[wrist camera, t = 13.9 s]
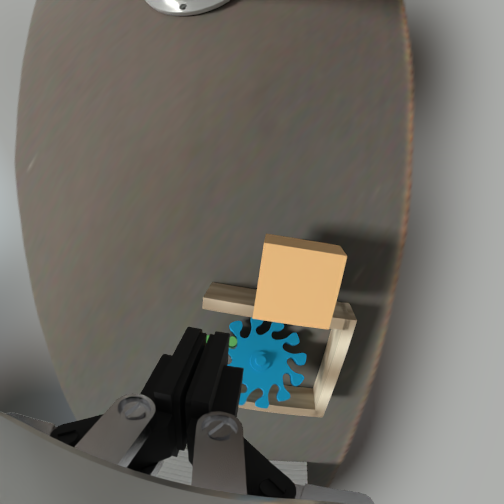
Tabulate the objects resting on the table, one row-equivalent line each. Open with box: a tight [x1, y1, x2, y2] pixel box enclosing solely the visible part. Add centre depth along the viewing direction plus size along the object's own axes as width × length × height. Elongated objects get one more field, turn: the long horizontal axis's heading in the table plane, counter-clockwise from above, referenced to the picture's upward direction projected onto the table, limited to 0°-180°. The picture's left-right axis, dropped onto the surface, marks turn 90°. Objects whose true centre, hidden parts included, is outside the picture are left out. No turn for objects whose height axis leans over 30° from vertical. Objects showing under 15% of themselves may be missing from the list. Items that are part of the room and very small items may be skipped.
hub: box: [252, 234, 347, 329], centre depth 25 cm, size 6×6×3 cm
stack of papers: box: [156, 449, 307, 486], centre depth 37 cm, size 32×11×11 cm, turn 86°
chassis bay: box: [202, 282, 357, 417], centre depth 32 cm, size 13×15×4 cm
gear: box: [206, 317, 306, 408], centre depth 32 cm, size 11×6×10 cm
